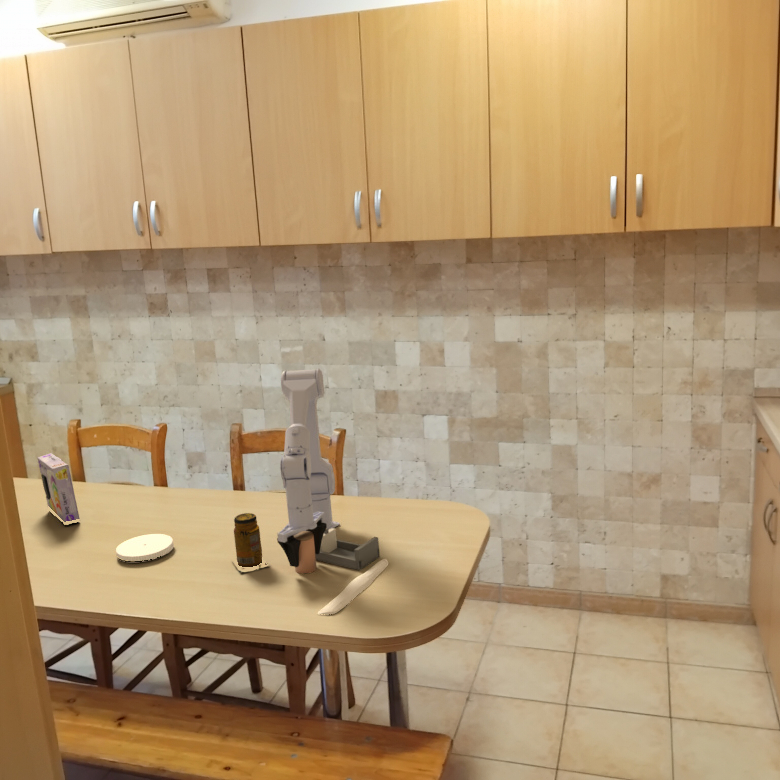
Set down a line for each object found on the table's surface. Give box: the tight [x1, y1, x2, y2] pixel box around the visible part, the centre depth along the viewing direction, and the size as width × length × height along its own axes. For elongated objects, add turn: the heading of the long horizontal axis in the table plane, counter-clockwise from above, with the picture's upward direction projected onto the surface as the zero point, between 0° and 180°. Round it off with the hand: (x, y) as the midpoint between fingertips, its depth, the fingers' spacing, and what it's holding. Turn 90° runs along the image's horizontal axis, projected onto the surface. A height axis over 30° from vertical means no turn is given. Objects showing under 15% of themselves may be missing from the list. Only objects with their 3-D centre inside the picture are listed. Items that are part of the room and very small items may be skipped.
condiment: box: [233, 512, 269, 567], centre depth 190 cm, size 7×8×12 cm
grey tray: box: [315, 536, 381, 571], centre depth 192 cm, size 19×8×5 cm, turn 56°
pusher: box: [320, 528, 337, 553], centre depth 194 cm, size 1×6×6 cm, turn 146°
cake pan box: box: [37, 452, 81, 522], centre depth 231 cm, size 19×5×18 cm, turn 36°
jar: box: [294, 531, 317, 575], centre depth 186 cm, size 5×5×9 cm
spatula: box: [317, 558, 389, 616], centre depth 176 cm, size 28×4×2 cm, turn 151°
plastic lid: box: [115, 533, 175, 562], centre depth 202 cm, size 14×14×2 cm
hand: (305, 559), depth 186 cm, fingers open, 7 cm apart
